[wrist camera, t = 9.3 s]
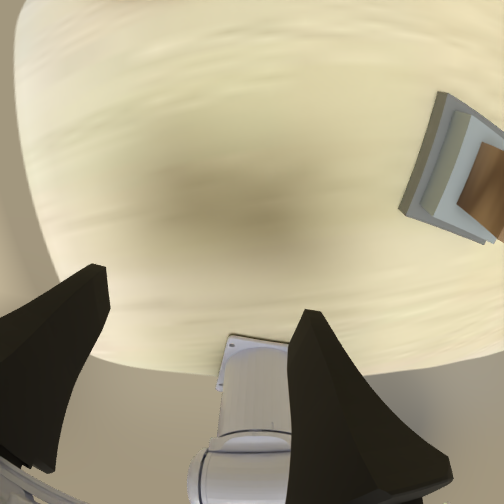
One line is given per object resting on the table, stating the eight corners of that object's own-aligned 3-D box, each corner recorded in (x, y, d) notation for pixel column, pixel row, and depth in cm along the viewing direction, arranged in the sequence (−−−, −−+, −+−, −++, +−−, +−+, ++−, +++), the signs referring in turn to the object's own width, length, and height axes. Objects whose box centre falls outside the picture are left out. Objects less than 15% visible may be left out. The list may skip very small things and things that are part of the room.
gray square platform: (471, 233, 20) (483, 245, 18) (394, 204, 19) (405, 215, 17) (507, 141, 15) (522, 148, 14) (432, 90, 15) (447, 92, 13)
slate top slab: (480, 231, 18) (493, 244, 16) (419, 204, 17) (432, 216, 15) (512, 153, 14) (528, 161, 12) (453, 110, 13) (471, 114, 12)
